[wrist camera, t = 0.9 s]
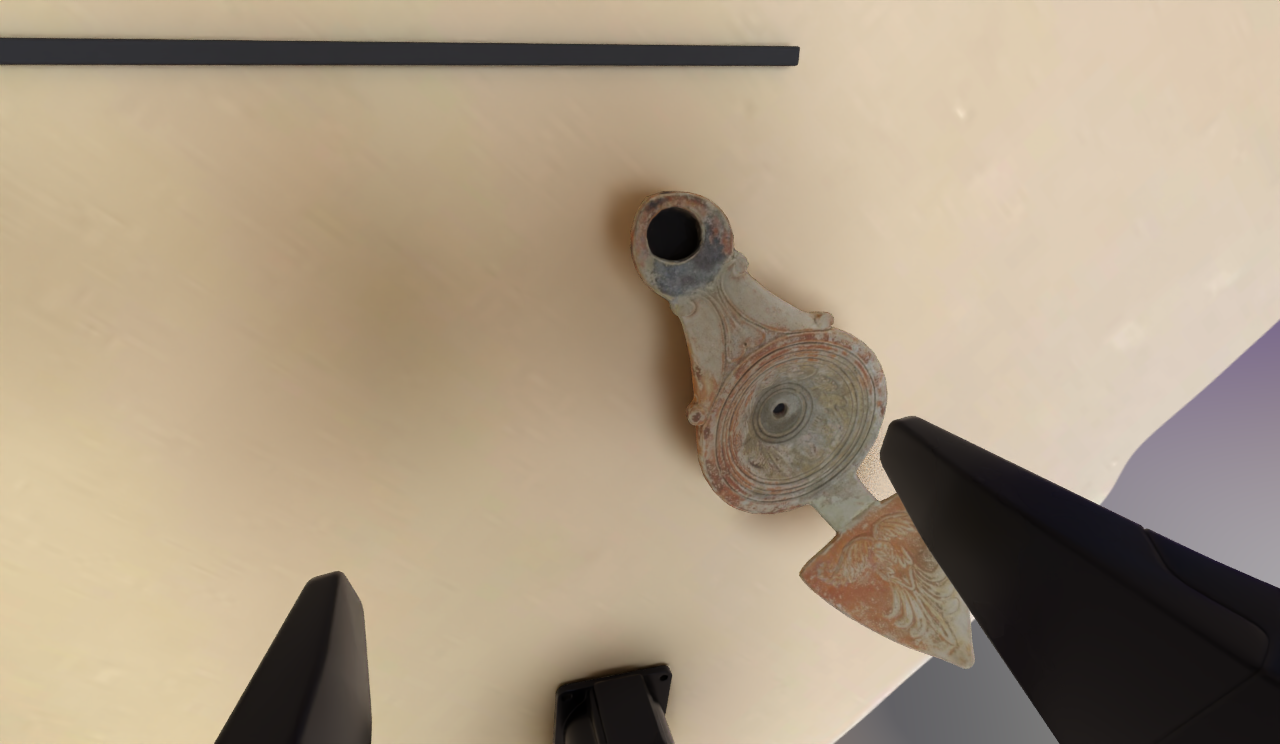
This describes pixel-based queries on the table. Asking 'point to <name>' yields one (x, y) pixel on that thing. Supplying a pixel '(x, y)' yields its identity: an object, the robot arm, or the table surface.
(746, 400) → the oil lamp
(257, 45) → the straight black rod
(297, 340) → the table surface
